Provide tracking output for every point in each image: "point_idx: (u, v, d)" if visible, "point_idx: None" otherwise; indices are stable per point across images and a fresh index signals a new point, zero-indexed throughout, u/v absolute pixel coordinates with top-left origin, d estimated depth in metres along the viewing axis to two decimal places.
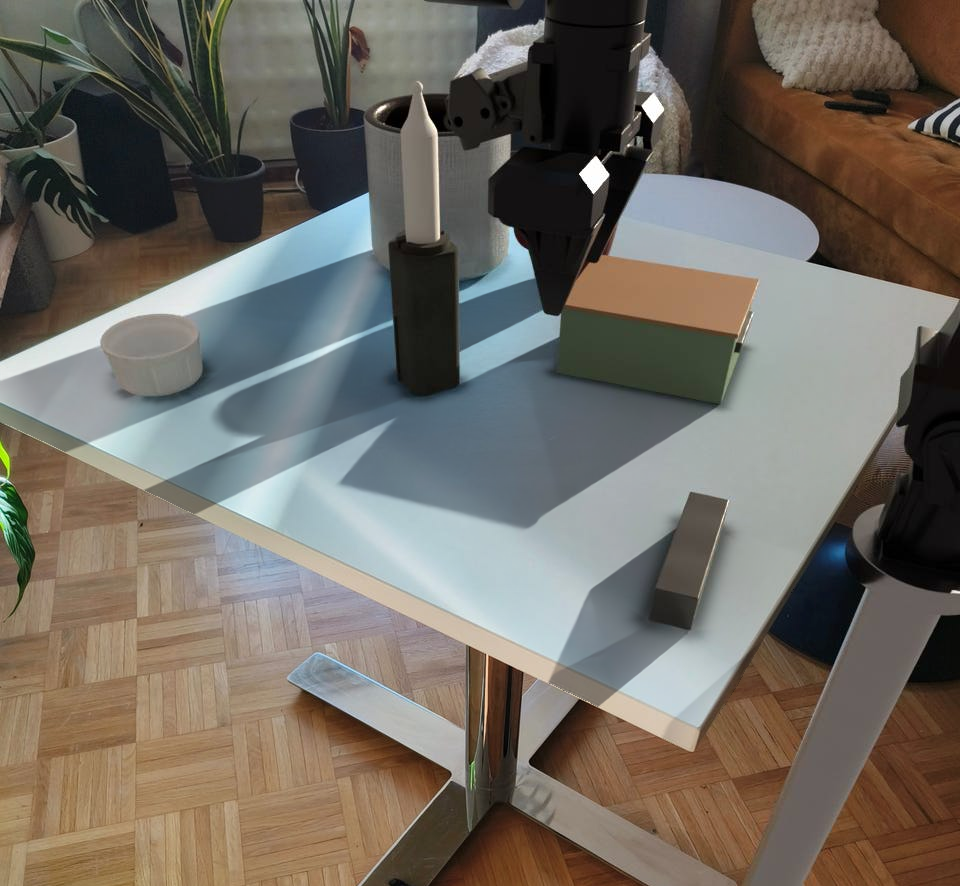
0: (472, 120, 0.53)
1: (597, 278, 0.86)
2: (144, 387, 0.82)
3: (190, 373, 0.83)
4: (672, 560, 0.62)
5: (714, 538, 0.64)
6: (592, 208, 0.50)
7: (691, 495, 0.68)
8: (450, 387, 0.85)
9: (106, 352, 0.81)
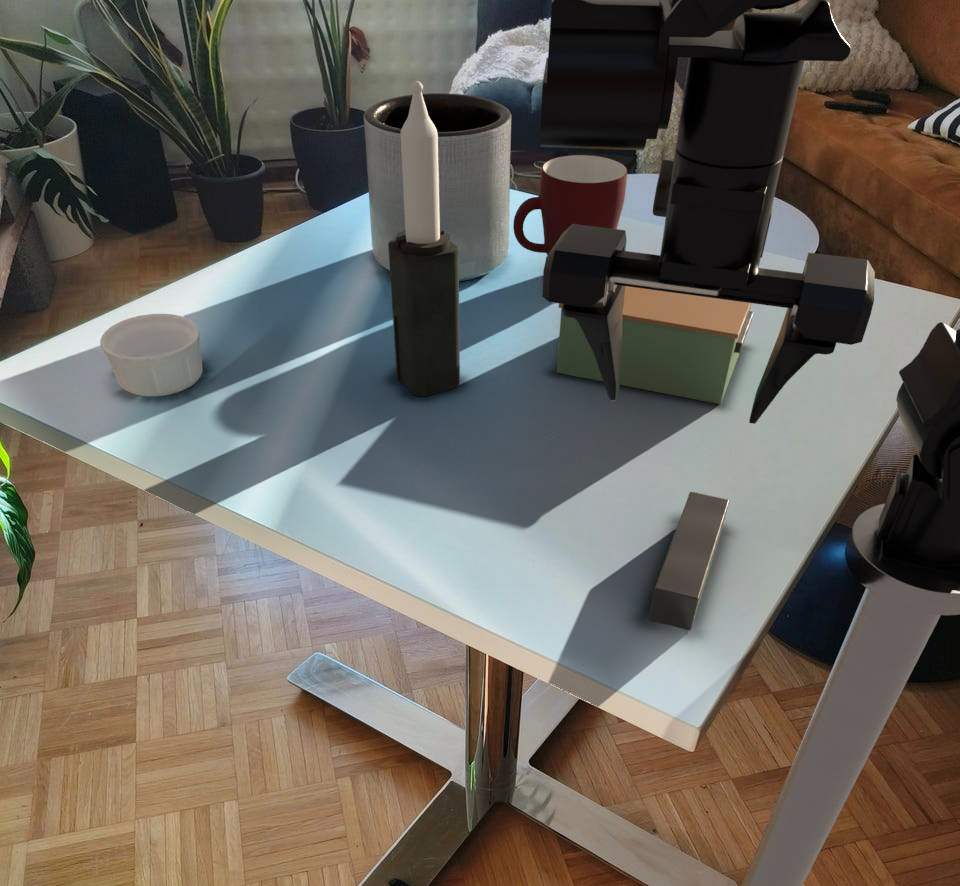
0: None
1: None
2: (144, 387, 0.82)
3: (190, 373, 0.83)
4: (672, 560, 0.62)
5: (714, 538, 0.64)
6: (551, 285, 0.53)
7: (691, 495, 0.68)
8: (450, 387, 0.85)
9: (106, 352, 0.81)
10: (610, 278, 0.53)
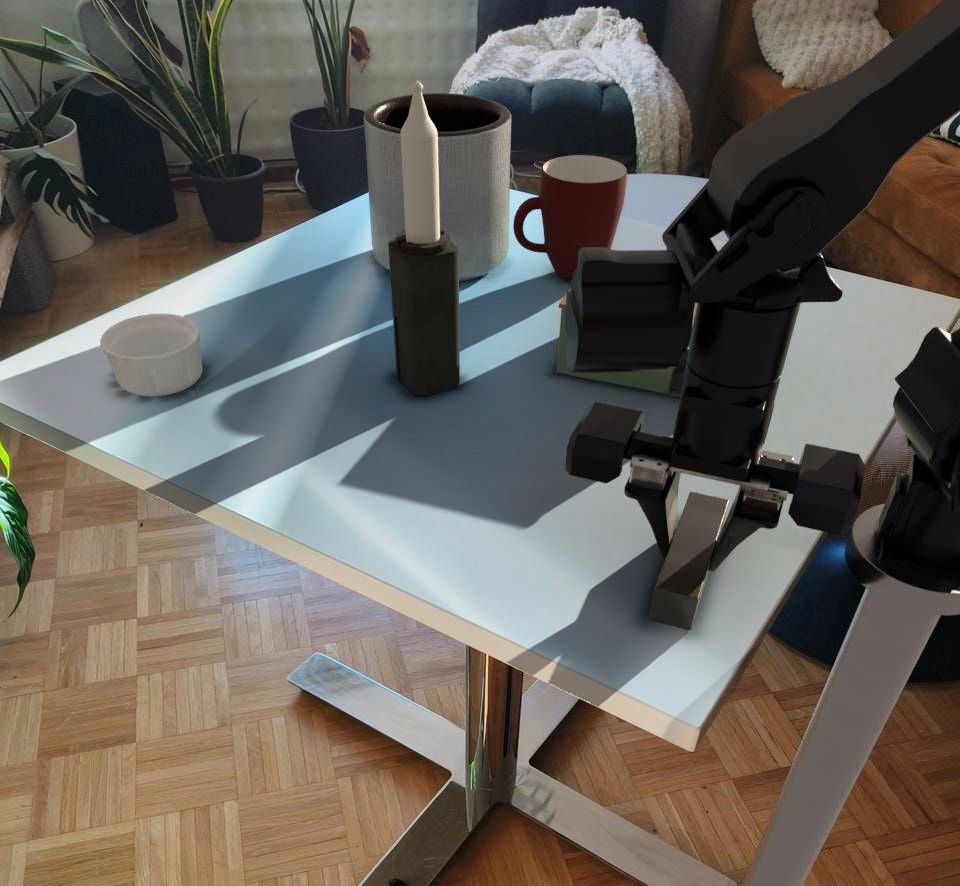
0: None
1: None
2: (144, 387, 0.82)
3: (190, 373, 0.83)
4: (672, 560, 0.62)
5: (714, 538, 0.64)
6: (573, 463, 0.60)
7: (691, 495, 0.68)
8: (450, 387, 0.85)
9: (106, 352, 0.81)
10: (669, 468, 0.59)
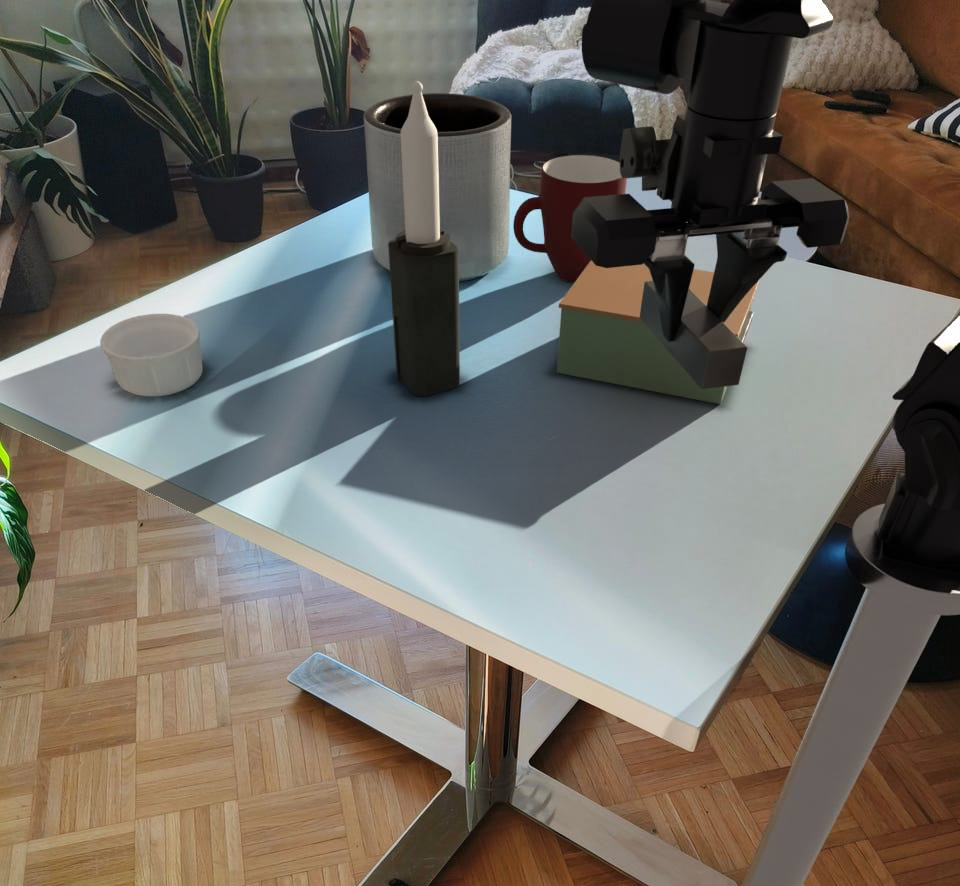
0: (626, 164, 0.64)
1: (597, 278, 0.86)
2: (144, 387, 0.82)
3: (190, 373, 0.83)
4: (696, 329, 0.65)
5: (704, 305, 0.68)
6: (610, 252, 0.59)
7: (648, 283, 0.71)
8: (450, 387, 0.85)
9: (106, 352, 0.81)
10: (689, 231, 0.61)
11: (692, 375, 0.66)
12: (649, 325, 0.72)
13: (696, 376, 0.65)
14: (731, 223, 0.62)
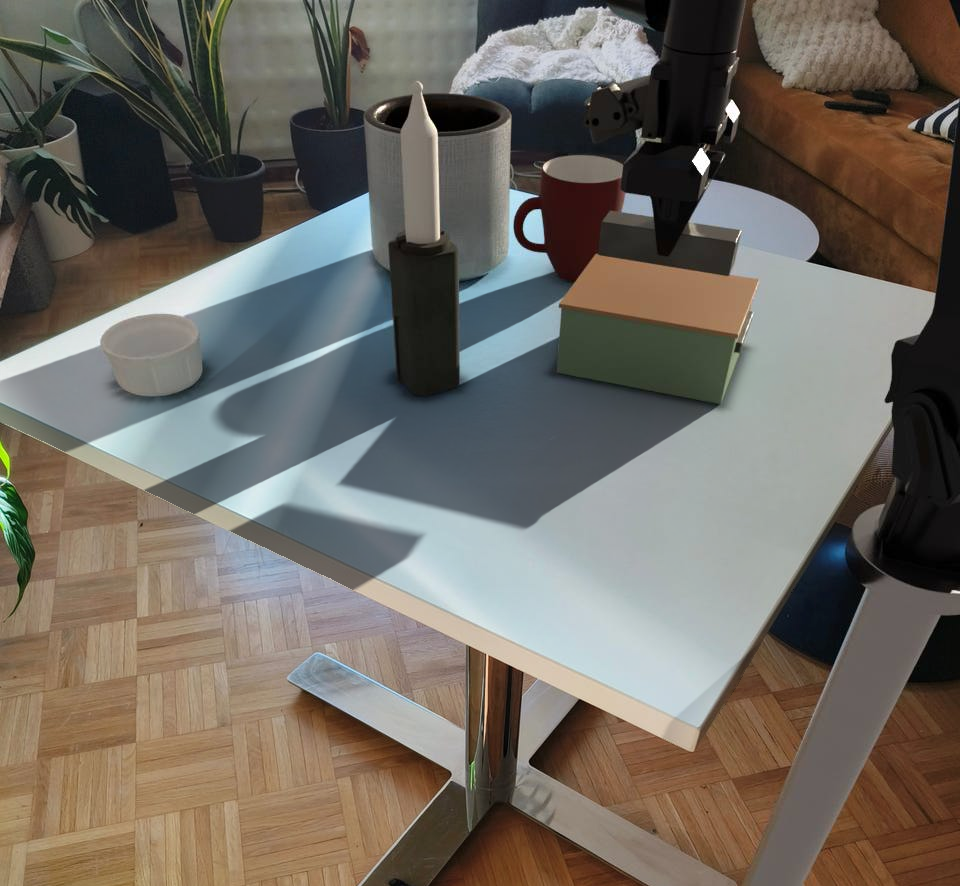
0: (606, 121, 0.72)
1: (597, 278, 0.86)
2: (144, 387, 0.82)
3: (190, 373, 0.83)
4: (699, 234, 0.78)
5: None
6: (700, 186, 0.69)
7: (607, 221, 0.80)
8: (450, 387, 0.85)
9: (106, 352, 0.81)
10: None
11: (710, 270, 0.79)
12: (620, 255, 0.81)
13: (717, 269, 0.79)
14: None
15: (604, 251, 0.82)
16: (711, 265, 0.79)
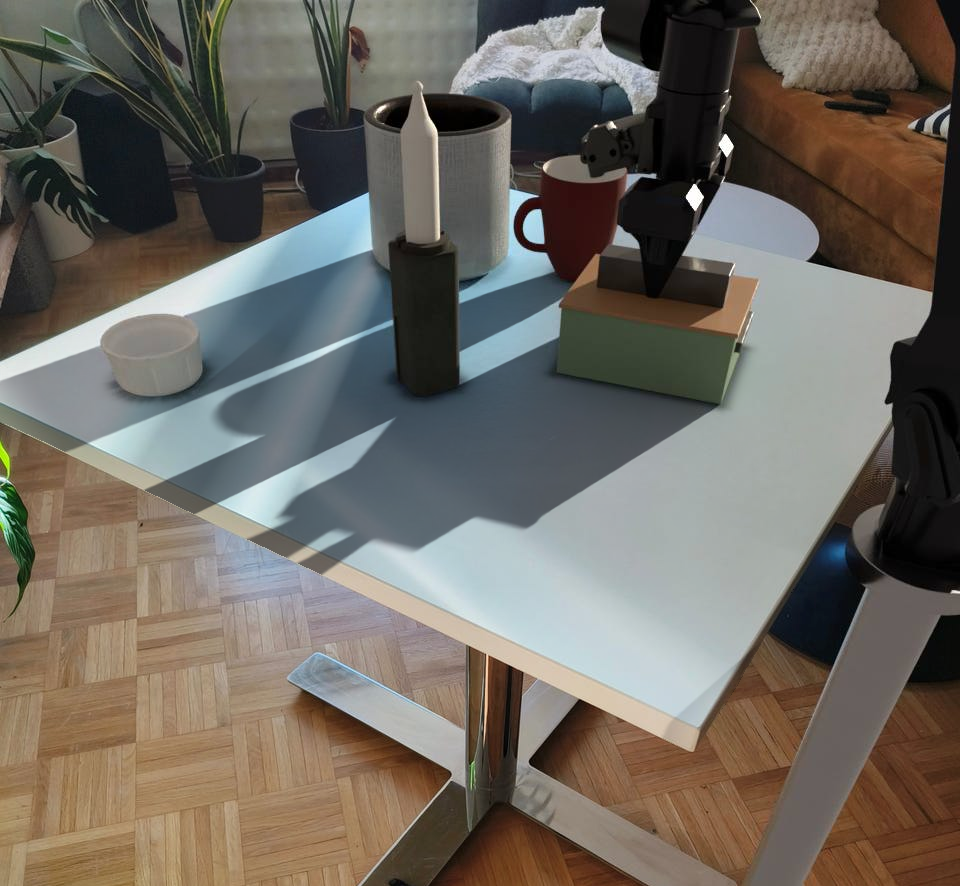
0: (603, 157, 0.74)
1: None
2: (144, 387, 0.82)
3: (190, 373, 0.83)
4: (694, 267, 0.81)
5: None
6: (693, 221, 0.71)
7: (605, 255, 0.82)
8: (450, 387, 0.85)
9: (106, 352, 0.81)
10: None
11: (705, 302, 0.82)
12: (618, 288, 0.84)
13: (712, 301, 0.82)
14: None
15: (602, 283, 0.84)
16: (706, 297, 0.82)
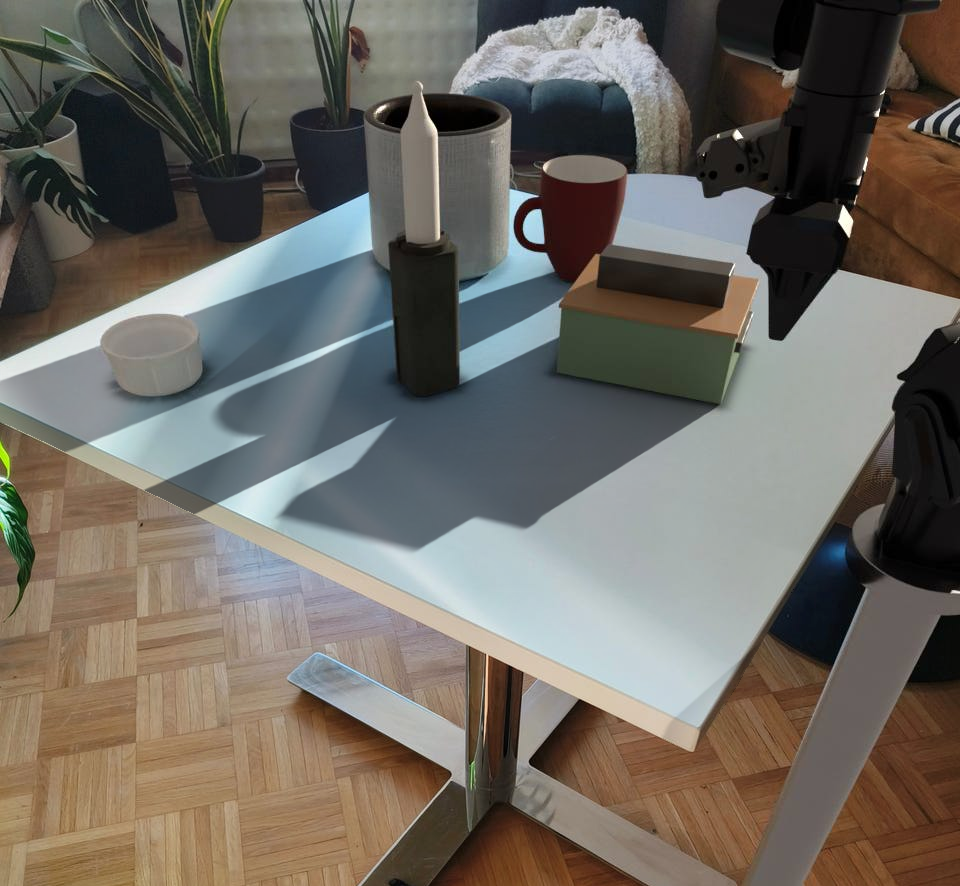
0: (726, 174, 0.61)
1: None
2: (144, 387, 0.82)
3: (190, 373, 0.83)
4: (694, 267, 0.81)
5: (661, 252, 0.83)
6: None
7: (605, 255, 0.82)
8: (450, 387, 0.85)
9: (106, 352, 0.81)
10: None
11: (705, 302, 0.82)
12: (618, 288, 0.84)
13: (712, 301, 0.82)
14: None
15: (602, 283, 0.84)
16: (706, 297, 0.82)
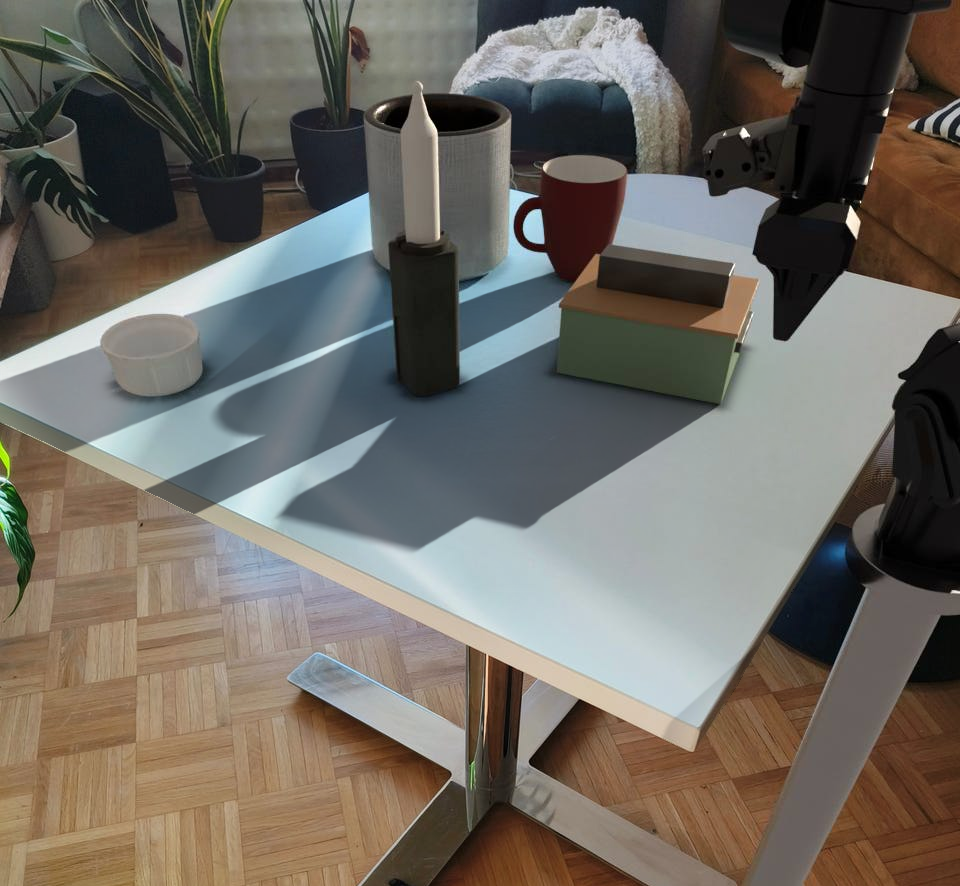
0: (733, 172, 0.61)
1: None
2: (144, 387, 0.82)
3: (190, 373, 0.83)
4: (694, 267, 0.81)
5: (661, 252, 0.83)
6: None
7: (605, 255, 0.82)
8: (450, 387, 0.85)
9: (106, 352, 0.81)
10: None
11: (705, 302, 0.82)
12: (618, 288, 0.84)
13: (712, 301, 0.82)
14: None
15: (602, 283, 0.84)
16: (706, 297, 0.82)
